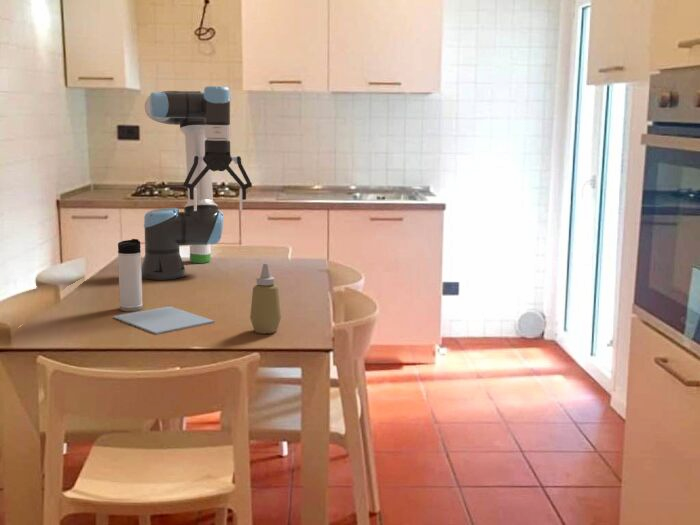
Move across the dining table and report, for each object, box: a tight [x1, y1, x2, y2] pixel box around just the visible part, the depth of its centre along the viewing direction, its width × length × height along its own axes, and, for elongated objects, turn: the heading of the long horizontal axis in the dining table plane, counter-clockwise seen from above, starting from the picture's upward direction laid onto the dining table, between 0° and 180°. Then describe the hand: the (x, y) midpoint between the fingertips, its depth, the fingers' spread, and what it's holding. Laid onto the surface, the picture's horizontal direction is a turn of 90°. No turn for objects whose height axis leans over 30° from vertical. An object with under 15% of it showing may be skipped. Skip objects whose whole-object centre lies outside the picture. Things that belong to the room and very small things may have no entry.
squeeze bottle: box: [249, 263, 282, 335], centre depth 206 cm, size 8×8×18 cm
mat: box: [113, 305, 215, 335], centre depth 217 cm, size 22×18×1 cm
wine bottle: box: [189, 244, 212, 264], centre depth 300 cm, size 8×8×30 cm
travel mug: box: [117, 238, 143, 313], centre depth 227 cm, size 6×7×20 cm
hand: (218, 210), depth 239 cm, fingers open, 13 cm apart
